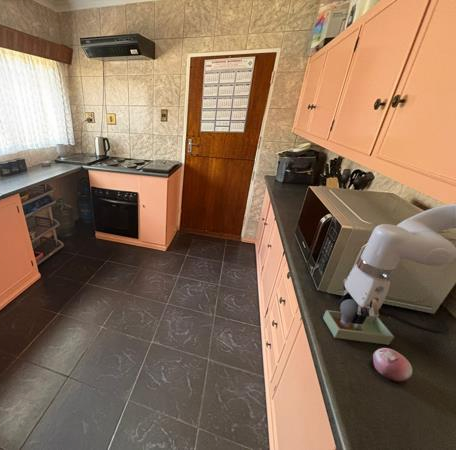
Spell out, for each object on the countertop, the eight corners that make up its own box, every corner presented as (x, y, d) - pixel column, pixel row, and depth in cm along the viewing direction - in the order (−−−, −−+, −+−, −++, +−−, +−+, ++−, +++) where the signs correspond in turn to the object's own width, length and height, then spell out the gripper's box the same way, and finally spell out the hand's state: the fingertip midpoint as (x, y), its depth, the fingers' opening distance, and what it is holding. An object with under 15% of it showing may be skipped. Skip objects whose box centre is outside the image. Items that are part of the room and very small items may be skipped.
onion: (362, 355, 71) (373, 338, 68) (393, 361, 70) (405, 344, 67) (378, 383, 64) (391, 365, 61) (412, 390, 63) (427, 373, 60)
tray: (372, 323, 82) (376, 315, 80) (389, 344, 75) (394, 336, 73) (322, 317, 84) (326, 309, 82) (334, 337, 77) (338, 329, 75)
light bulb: (360, 333, 76) (373, 309, 72) (341, 333, 76) (353, 309, 72) (346, 317, 82) (358, 294, 77) (328, 317, 81) (339, 294, 77)
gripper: (413, 290, 60) (381, 339, 69) (369, 251, 76) (347, 296, 84) (380, 286, 61) (352, 336, 69) (343, 249, 76) (324, 293, 85)
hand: (349, 313), depth 77 cm, fingers closed on light bulb, 6 cm apart
